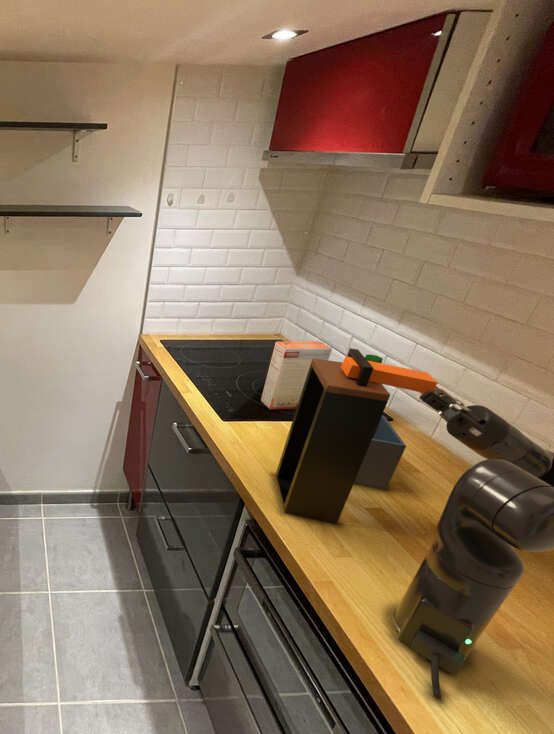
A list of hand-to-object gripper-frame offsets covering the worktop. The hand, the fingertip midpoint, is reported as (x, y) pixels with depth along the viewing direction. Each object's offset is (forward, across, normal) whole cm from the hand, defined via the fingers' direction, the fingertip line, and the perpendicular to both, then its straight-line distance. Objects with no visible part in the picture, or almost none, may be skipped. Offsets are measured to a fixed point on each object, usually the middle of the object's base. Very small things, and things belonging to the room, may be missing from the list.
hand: (414, 384), depth 85 cm
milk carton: (-24, -43, +24) cm, 54 cm away
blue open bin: (-18, -17, +27) cm, 36 cm away
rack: (-7, 0, +33) cm, 34 cm away
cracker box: (-10, -45, +32) cm, 56 cm away
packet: (+4, 0, +3) cm, 5 cm away
